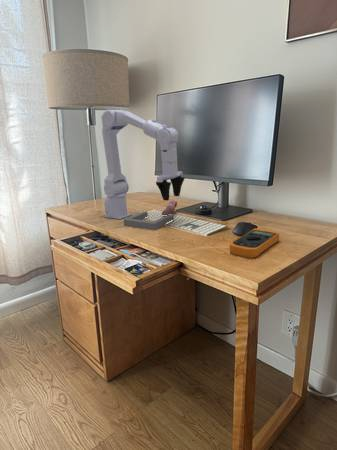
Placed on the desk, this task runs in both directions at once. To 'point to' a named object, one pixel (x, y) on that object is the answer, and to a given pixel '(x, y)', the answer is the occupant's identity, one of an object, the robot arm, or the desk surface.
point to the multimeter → (254, 243)
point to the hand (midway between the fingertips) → (171, 198)
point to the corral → (140, 223)
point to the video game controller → (170, 208)
